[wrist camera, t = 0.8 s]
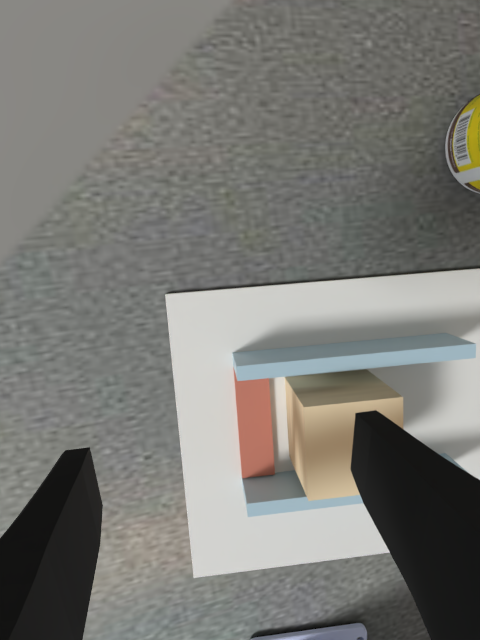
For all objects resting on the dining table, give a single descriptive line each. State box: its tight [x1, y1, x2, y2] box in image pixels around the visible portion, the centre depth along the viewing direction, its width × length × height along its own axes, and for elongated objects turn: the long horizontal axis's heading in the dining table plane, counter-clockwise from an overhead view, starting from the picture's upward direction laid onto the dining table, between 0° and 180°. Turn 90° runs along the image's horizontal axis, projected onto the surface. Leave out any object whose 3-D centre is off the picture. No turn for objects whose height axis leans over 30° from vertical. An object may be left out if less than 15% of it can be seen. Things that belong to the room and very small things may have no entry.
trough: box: [232, 333, 476, 517], centre depth 26 cm, size 9×13×3 cm, turn 94°
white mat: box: [165, 268, 480, 578], centre depth 28 cm, size 18×24×1 cm
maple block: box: [285, 369, 403, 501], centre depth 25 cm, size 5×5×5 cm
